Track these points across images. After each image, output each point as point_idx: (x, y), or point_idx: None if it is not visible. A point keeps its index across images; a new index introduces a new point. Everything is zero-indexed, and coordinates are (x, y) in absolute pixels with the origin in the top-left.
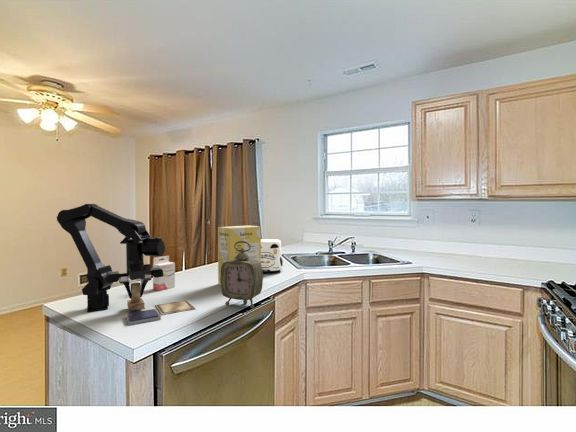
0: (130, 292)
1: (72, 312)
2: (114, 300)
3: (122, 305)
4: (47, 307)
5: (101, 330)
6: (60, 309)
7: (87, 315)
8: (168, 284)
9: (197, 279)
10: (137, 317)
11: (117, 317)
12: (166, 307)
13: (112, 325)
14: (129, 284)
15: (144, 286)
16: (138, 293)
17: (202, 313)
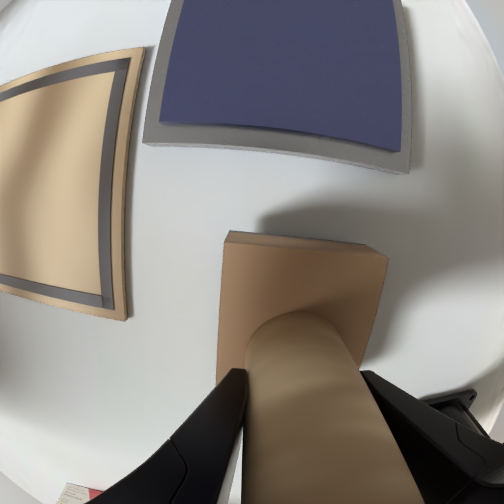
0: (403, 410)
1: (488, 405)
2: None
3: None
4: None
5: (491, 60)
6: None
7: (493, 346)
8: (80, 500)
9: (21, 475)
10: (344, 2)
11: (435, 207)
12: (65, 197)
13: (463, 77)
14: (500, 487)
15: (158, 470)
16: (288, 386)
17: (6, 23)
